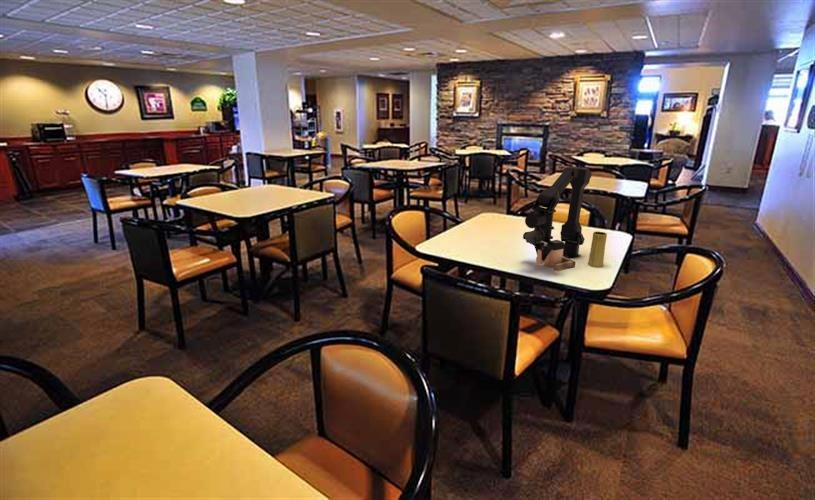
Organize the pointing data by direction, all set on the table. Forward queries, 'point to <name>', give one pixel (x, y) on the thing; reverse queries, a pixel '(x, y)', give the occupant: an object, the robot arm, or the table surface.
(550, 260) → the pink block
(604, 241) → the vase
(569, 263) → the walnut holder
